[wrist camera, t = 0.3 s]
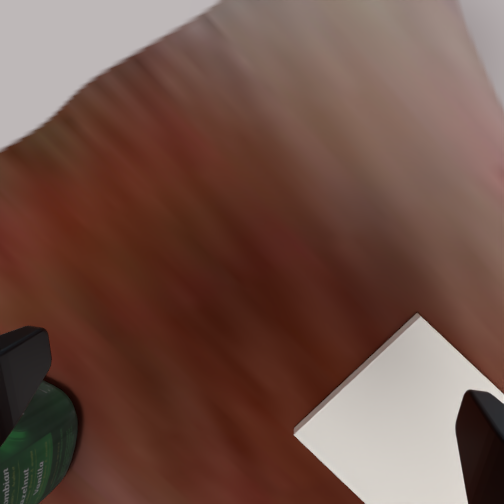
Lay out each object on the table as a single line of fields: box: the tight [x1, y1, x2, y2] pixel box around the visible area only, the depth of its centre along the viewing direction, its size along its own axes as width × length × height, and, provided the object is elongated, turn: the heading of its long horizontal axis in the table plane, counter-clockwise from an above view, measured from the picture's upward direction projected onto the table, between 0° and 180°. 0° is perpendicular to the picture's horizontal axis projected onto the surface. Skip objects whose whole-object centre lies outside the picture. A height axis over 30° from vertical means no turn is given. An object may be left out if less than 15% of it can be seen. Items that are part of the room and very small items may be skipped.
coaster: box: [294, 313, 504, 504], centre depth 25 cm, size 10×10×1 cm
